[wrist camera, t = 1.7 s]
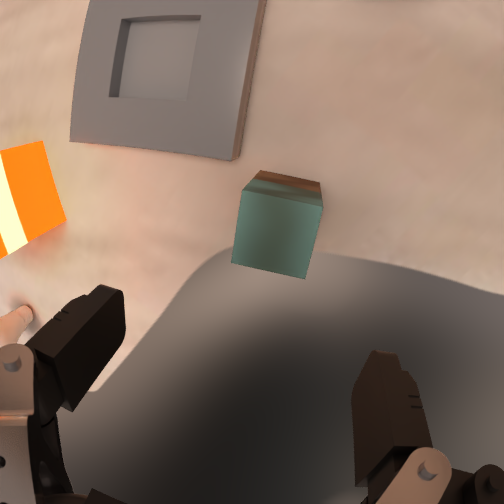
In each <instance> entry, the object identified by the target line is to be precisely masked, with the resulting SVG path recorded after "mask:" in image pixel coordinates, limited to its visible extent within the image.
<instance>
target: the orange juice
mask: <svg viewBox="0 0 504 504" xmlns="http://www.w3.org/2000/svg"><path fill="white" fill-rule="evenodd" d="M64 221H66V217H65V214H64V211H63V208H62V205H61V202H60V199H59V196H58V193H57V190H56V187H55V183H54V180H53V177H52V173H51V170H50V166H49V163H48V159H47V155H46V152H45V148H44V144H43V141H39V142H35V143H30V144H26V145H22V146H18V147H13V148H10V149H6V150H2V151H0V259H1V258H3V257H4V256H6V255H9V254H10V253H12V252H13V251H15V250H17V249H18V248H20V247H22V246H23V245H25V244H27V243H28V242H29V241H31V240H32V239H34V238H36V237H38V236H39V235H41V234H43V233H45V232H46V231H48V230H50V229H52V228H53V227H55V226H57V225H59V224H61V223H63V222H64Z"/></svg>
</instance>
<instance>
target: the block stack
mask: <svg viewBox="0 0 504 504" xmlns="http://www.w3.org/2000/svg"><path fill="white" fill-rule="evenodd" d="M322 210H323V202H322V196H321V189H320V183H319V182H315V181H310V180H306V179H301V178H296V177H292V176H287V175H282V174H277V173H272V172H267V171H262V170H260V171H259V172H258V173H257V174H256V176H255V177H254V178H253V179H252V180H251V181H250V182H249V183H248V184H247V185H246V186H245V188H244V189H243V190H242V195H241V201H240V207H239V214H238V220H237V227H236V233H235V240H234V247H233V254H232V260H231V263H234V264H239V265H243V266H248V267H252V268H257V269H261V270H266V271H270V272H274V273H279V274H283V275H288V276H293V277H297V278H302V279H305V277H306V273H307V269H308V266H309V262H310V258H311V254H312V251H313V247H314V243H315V239H316V235H317V231H318V227H319V223H320V219H321V214H322Z"/></svg>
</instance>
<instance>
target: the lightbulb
mask: <svg viewBox="0 0 504 504" xmlns="http://www.w3.org/2000/svg"><path fill="white" fill-rule="evenodd" d="M32 320H33V314H32V310H31V309H30V308H28V307H27V306H25V305H22V306H20V307H19V308H17V309H16V310H15V311H11V312H10V313H8V314H6V315H4V316H2V317H0V348H1V347H2V346H5V345H8V344H13V343H17V341H18V339H19V337H20V336H21V334H22V333H23V332H24V331H25V329H26V327H27V326H28V324H30V322H31V321H32Z"/></svg>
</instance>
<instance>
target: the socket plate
mask: <svg viewBox="0 0 504 504" xmlns="http://www.w3.org/2000/svg"><path fill="white" fill-rule="evenodd" d="M265 6H266V0H90V2H89V6H88V10H87V15H86V19H85V24H84V29H83V33H82V39H81V44H80V50H79V56H78V62H77V69H76V76H75V83H74V92H73V101H72V112H71V125H70V142H79V143H92V144H104V145H115V146H125V147H134V148H143V149H151V150H159V151H167V152H174V153H182V154H189V155H195V156H202V157H208V158H215V159H221V160H227V161H232V160H234V159H236V158H238V157H239V155H240V148H241V142H242V136H243V130H244V124H245V118H246V112H247V106H248V100H249V94H250V88H251V82H252V76H253V71H254V65H255V59H256V54H257V48H258V43H259V37H260V32H261V27H262V21H263V16H264V11H265Z"/></svg>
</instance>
